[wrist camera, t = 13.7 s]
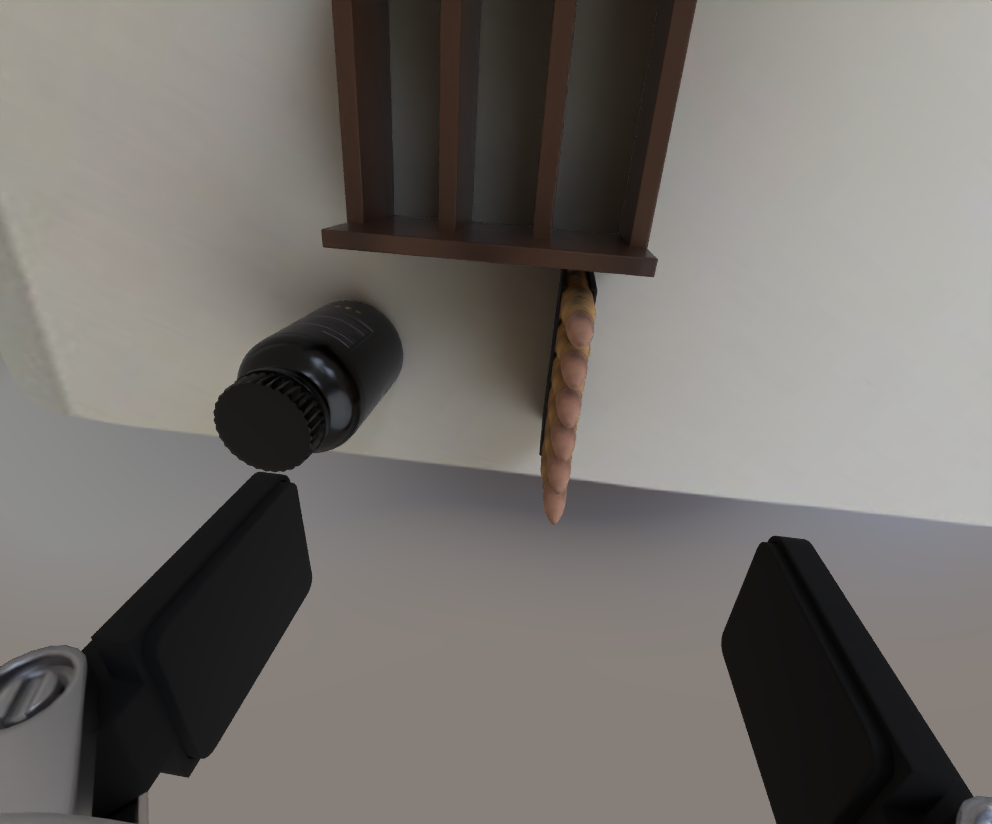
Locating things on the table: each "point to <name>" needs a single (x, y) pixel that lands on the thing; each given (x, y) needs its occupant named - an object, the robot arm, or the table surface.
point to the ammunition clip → (565, 384)
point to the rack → (454, 232)
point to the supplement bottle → (309, 386)
